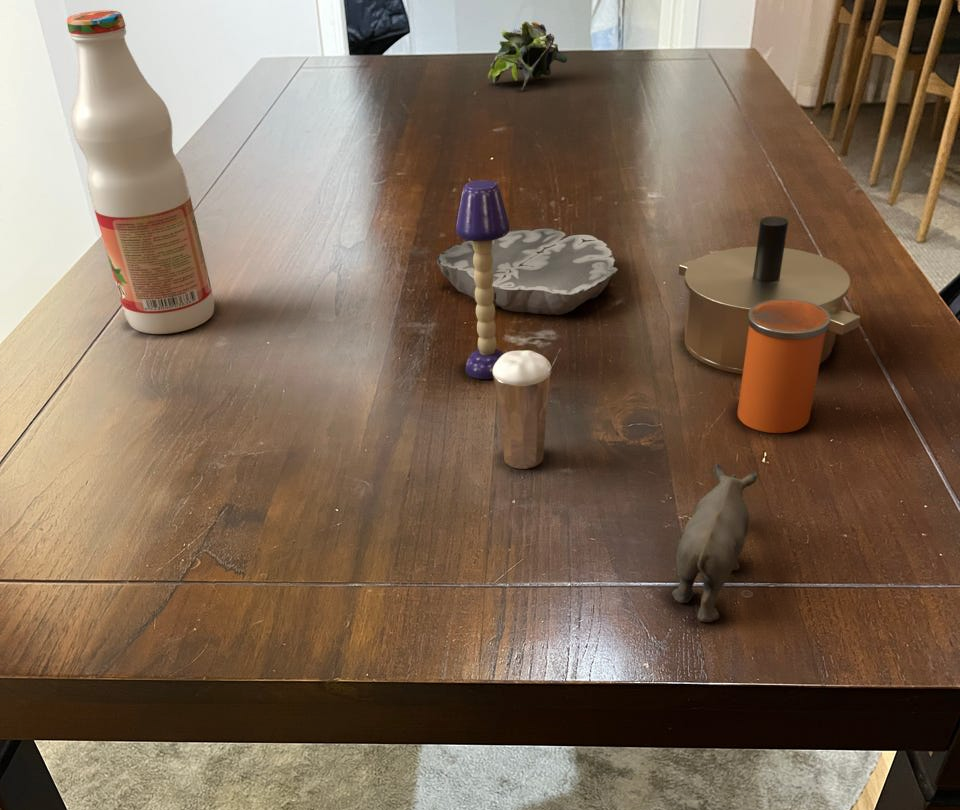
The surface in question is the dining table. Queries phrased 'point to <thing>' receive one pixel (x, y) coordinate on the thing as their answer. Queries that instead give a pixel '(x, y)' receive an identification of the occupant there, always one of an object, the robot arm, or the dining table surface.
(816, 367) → the small canister
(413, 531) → the dining table surface
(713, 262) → the lid
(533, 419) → the milkshake
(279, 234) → the dining table surface
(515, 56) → the green leafy plant
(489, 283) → the toy lamp
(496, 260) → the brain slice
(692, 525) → the rhino figurine
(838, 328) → the pot
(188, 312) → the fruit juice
